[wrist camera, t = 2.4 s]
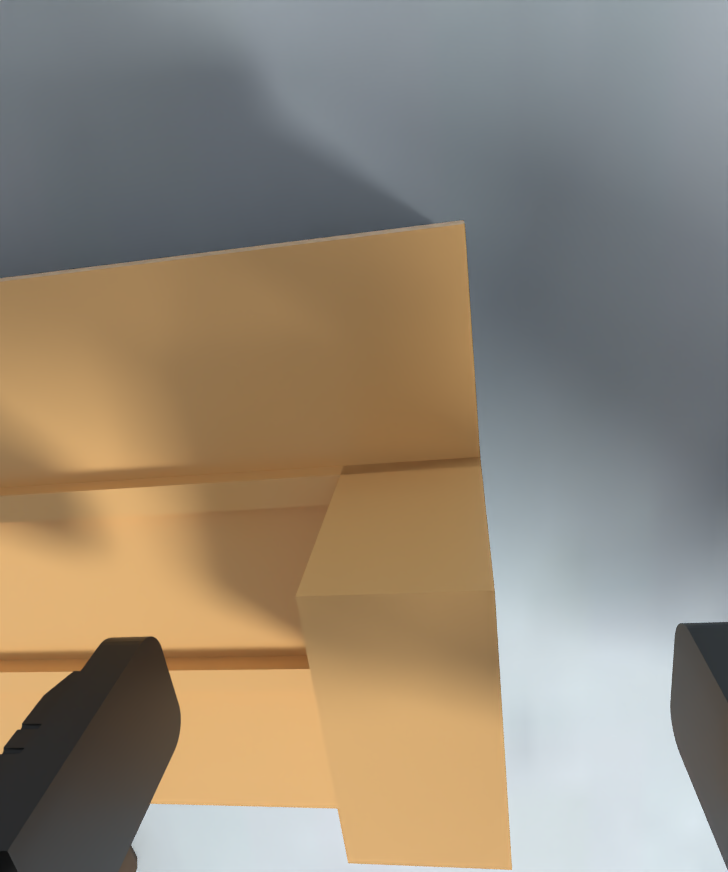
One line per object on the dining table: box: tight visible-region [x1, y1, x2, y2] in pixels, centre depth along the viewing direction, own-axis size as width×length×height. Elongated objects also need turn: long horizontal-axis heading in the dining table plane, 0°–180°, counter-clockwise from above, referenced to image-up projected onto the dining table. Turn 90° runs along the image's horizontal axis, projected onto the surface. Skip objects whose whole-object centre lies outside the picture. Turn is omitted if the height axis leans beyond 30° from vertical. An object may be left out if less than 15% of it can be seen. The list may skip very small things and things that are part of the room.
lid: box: [0, 220, 512, 870], centre depth 13 cm, size 17×13×6 cm
